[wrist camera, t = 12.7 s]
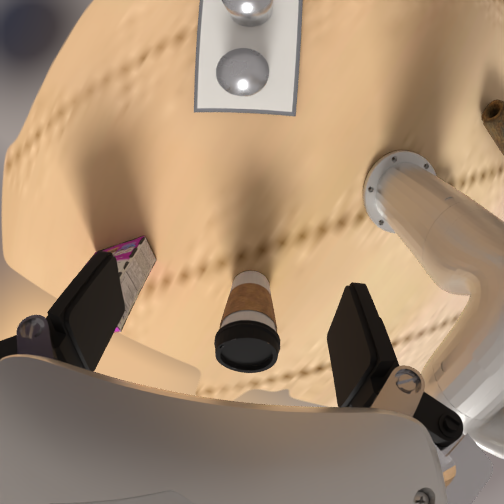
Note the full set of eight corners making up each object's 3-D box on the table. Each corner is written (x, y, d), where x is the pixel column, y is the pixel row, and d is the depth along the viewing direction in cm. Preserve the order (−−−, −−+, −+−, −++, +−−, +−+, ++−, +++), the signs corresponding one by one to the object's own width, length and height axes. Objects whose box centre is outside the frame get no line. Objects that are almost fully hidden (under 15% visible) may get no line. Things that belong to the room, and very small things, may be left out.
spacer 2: (269, 57, 27) (270, 49, 22) (266, 97, 29) (267, 97, 24) (224, 56, 27) (217, 47, 22) (223, 96, 29) (214, 95, 24)
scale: (301, -33, 21) (306, -49, 17) (293, 115, 33) (298, 117, 29) (208, -36, 21) (201, -51, 17) (198, 111, 33) (188, 113, 29)
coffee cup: (245, 254, 43) (237, 325, 30) (287, 282, 46) (295, 355, 33) (215, 288, 47) (199, 360, 34) (256, 312, 49) (253, 384, 36)
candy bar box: (108, 274, 47) (66, 340, 32) (95, 251, 44) (45, 313, 30) (159, 260, 45) (121, 334, 30) (146, 234, 42) (99, 302, 28)
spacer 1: (272, -8, 22) (272, -27, 17) (272, 26, 25) (273, 12, 19) (229, -7, 22) (220, -25, 17) (228, 27, 25) (219, 14, 20)
